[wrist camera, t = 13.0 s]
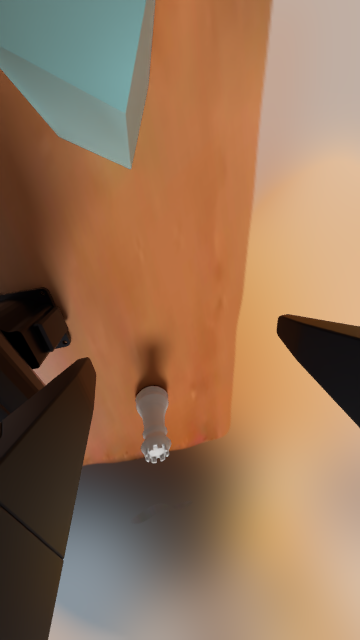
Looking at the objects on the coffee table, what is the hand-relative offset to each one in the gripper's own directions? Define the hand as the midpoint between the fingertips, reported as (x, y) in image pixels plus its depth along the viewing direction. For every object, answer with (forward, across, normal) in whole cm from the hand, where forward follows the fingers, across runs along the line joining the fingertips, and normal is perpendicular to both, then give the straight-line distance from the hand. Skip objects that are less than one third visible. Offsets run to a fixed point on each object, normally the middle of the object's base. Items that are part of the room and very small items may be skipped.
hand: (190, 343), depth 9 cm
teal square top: (+13, +2, -13) cm, 19 cm away
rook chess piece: (+13, +4, +16) cm, 21 cm away
